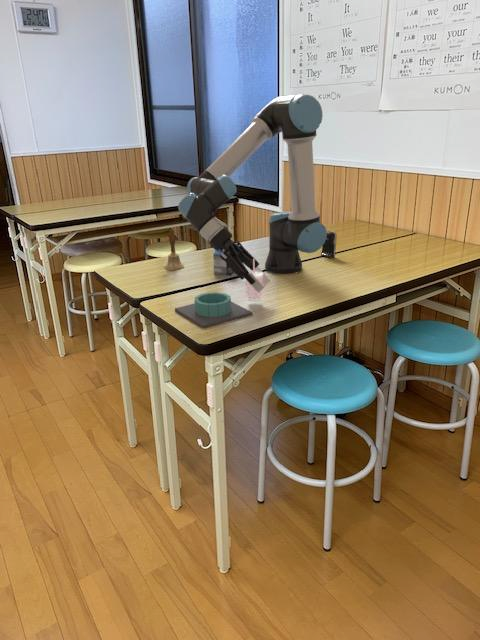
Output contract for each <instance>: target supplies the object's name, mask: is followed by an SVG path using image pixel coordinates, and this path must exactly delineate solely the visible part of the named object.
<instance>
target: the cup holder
mask: <svg viewBox="0 0 480 640" xmlns="http://www.w3.org/2000/svg"><path fill="white" fill-rule="evenodd" d="M174 311H175V313H177V314H179V315H180V316H182V317H184V318H185V319H187V320H189V321H190V322H192V323H193V324H195V325H197V326H198V327H200V329H203V328H204V329H208V328H211V327H214V326H218V325H221V323H222V324H225V322H226V323H228V321H229V322H232V320H233V321H236V319H237V320H240V319H243V317H244V318H247V317H251V316H253V312H252V311H251V310H249V309H247V308H245V307H243V306H241V305H239V304H238V303H235V302H233V301H232V298H231V296H230V295H229V294H227V293H223V292H217V291H215V292H205V293H200V294H198V295H196V296H194V303H191V304H187V305H183V306H179V307H175V308H174ZM250 315H251V316H250Z"/></svg>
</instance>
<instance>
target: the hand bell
mask: <svg viewBox="0 0 480 640" xmlns="http://www.w3.org/2000/svg"><path fill="white" fill-rule="evenodd" d="M168 232H169V233H168V241H169V244H170V254H168V256H167V262H166V264H165V265H164V269H165V270H167V271H178V269H179V270H182V269H184V268H185V265H184V264H183V263H182V261H181V258H180V255H179V253H176V247H175V243H176V235H175V232H174V230H173V229H169V231H168Z"/></svg>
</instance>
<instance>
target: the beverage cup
mask: <svg viewBox="0 0 480 640" xmlns="http://www.w3.org/2000/svg"><path fill="white" fill-rule="evenodd" d="M248 272H249V273H250V272H251V273H252V274H253V275H254V276H255V277H256V278H257V279H258V280H259V281H260V283H261V284H262V277H263V273H264V272H263V271H262V272H263V273H262V272H259V271H255V261H254V259H253V271H252V270H251V271H248ZM245 284H246V295H247V297H246V298H247V301H248V302H251V303H257V302H260V301H261V300H262V292H263V289H262V290H261V291H260V292H259V293H258V292H257V291H256V290H255V289H254V288H253V287H252V285H251V284H250V283H249V282H248V281H247V280H246V279H245ZM262 285H263V284H262Z"/></svg>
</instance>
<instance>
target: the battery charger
mask: <svg viewBox="0 0 480 640" xmlns="http://www.w3.org/2000/svg"><path fill="white" fill-rule="evenodd" d="M326 231H327V236H326V240H325V242H324V244H323V245H322V247H321V248H322V249H321V253H320V256H321V257H323V256H326V257H325V258H327V257H334V258H335V257H336V250H337V249H336V248H337V233H336V232H335V231H332V230H327V229H326Z"/></svg>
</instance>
